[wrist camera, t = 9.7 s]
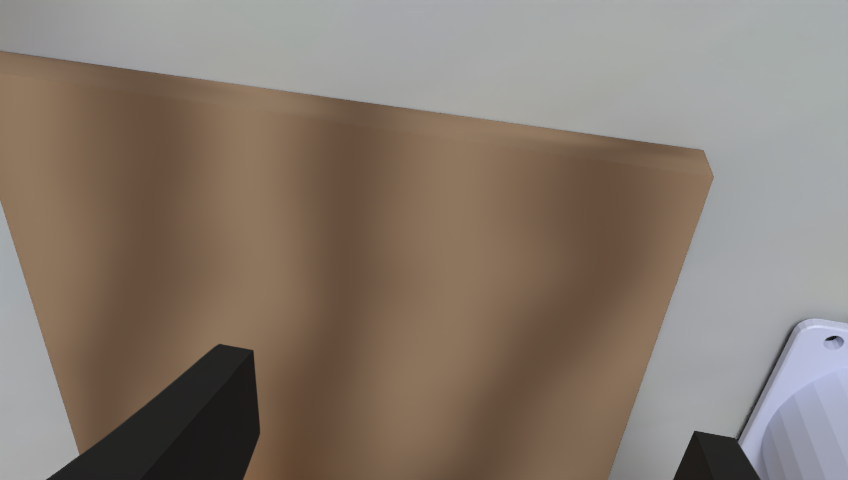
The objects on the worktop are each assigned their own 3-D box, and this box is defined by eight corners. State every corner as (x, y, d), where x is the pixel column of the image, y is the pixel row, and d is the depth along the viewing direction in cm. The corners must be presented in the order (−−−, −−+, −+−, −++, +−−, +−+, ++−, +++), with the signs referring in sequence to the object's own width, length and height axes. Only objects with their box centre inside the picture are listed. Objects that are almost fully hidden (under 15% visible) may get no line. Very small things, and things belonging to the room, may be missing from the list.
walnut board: (703, 150, 18) (713, 177, 16) (540, 638, 32) (539, 672, 30) (-3, 50, 20) (-41, 67, 19) (134, 549, 34) (118, 578, 32)
